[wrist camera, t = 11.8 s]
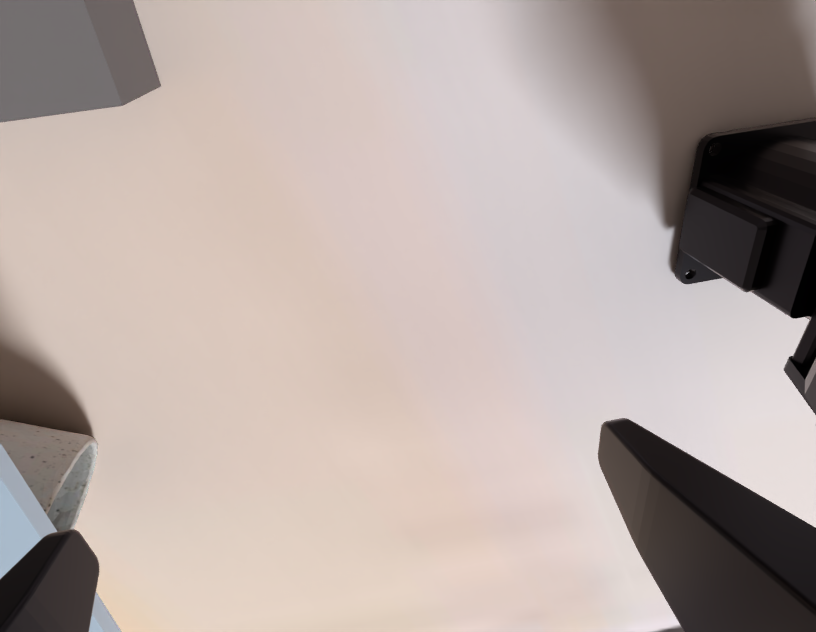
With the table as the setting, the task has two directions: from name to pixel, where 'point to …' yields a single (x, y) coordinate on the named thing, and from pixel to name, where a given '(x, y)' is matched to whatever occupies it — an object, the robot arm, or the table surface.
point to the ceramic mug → (52, 467)
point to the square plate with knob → (31, 531)
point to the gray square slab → (71, 57)
